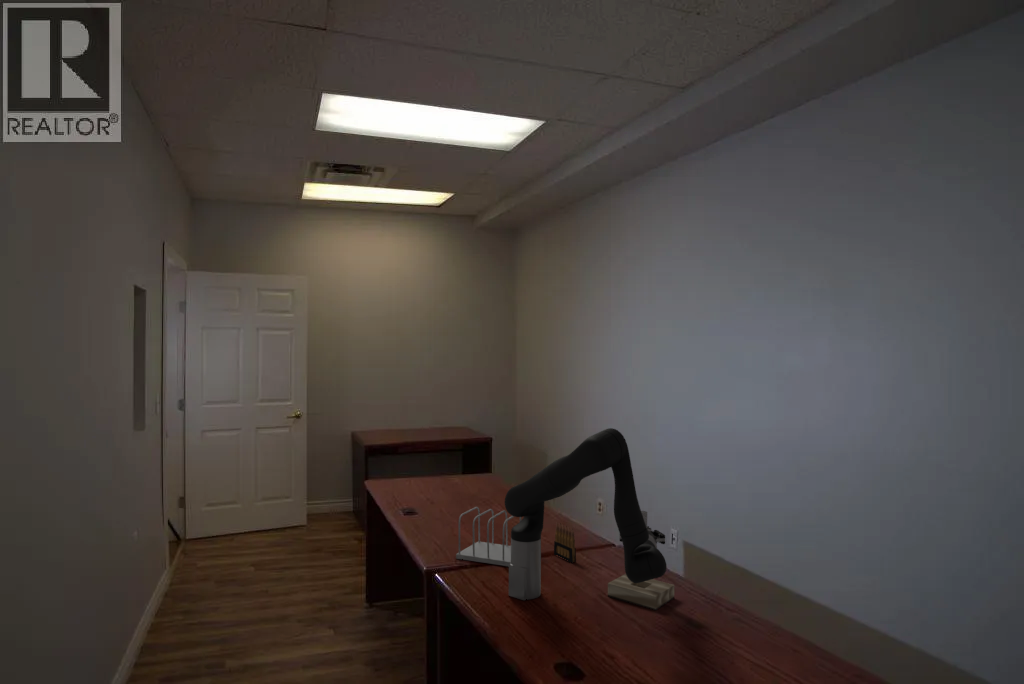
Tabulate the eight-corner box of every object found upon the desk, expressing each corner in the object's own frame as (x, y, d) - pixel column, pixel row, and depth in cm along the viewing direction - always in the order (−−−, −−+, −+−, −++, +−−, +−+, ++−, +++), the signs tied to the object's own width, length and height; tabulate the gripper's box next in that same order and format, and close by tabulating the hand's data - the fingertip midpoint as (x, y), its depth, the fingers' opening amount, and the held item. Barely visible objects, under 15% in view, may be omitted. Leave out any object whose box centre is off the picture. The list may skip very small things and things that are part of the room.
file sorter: (539, 554, 237) (539, 512, 237) (520, 570, 221) (520, 524, 221) (477, 545, 247) (478, 504, 247) (455, 559, 231) (455, 515, 231)
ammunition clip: (553, 554, 236) (553, 521, 236) (557, 554, 237) (558, 521, 237) (571, 563, 227) (572, 529, 227) (576, 562, 228) (576, 528, 228)
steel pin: (643, 564, 195) (644, 514, 195) (634, 561, 197) (634, 512, 197) (648, 561, 198) (649, 512, 198) (639, 559, 200) (639, 510, 200)
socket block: (655, 610, 188) (655, 596, 188) (607, 596, 198) (607, 583, 198) (674, 598, 197) (674, 584, 197) (627, 585, 207) (627, 572, 207)
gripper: (668, 534, 182) (664, 518, 199) (617, 531, 184) (618, 515, 201) (668, 561, 182) (664, 542, 199) (617, 558, 184) (618, 539, 201)
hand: (641, 529), depth 200 cm, fingers closed on steel pin, 3 cm apart
